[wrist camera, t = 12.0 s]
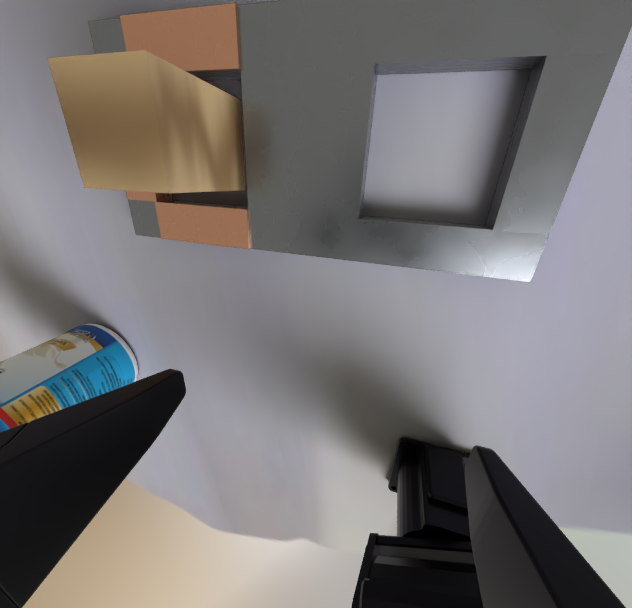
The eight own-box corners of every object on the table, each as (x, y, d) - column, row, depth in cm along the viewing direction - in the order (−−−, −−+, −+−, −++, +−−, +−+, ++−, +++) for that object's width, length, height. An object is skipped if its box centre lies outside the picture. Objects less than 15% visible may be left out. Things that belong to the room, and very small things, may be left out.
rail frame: (519, 273, 16) (531, 283, 14) (151, 231, 22) (133, 235, 20) (626, -13, 11) (662, -45, 9) (112, 33, 17) (84, 19, 15)
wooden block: (246, 190, 18) (168, 193, 12) (183, 186, 20) (84, 187, 14) (240, 100, 16) (144, 49, 10) (171, 101, 18) (47, 57, 11)
